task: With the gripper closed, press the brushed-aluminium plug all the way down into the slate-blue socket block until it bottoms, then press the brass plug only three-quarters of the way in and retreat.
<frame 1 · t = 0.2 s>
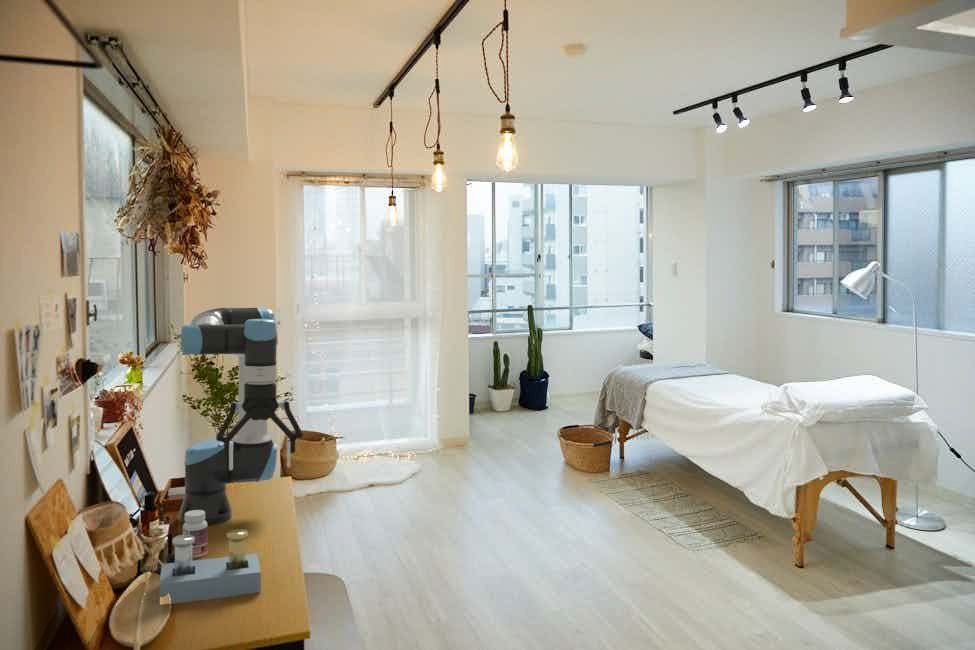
hand: (260, 467, 180), 28 cm above the table, fingers open, 13 cm apart
aluminium plug: (183, 555, 172), point 9 cm above the table, slide at 0.0 cm
brass plug: (237, 549, 176), point 9 cm above the table, slide at 0.0 cm
pill bottle: (195, 554, 195), on the table
socket block: (210, 588, 175), on the table
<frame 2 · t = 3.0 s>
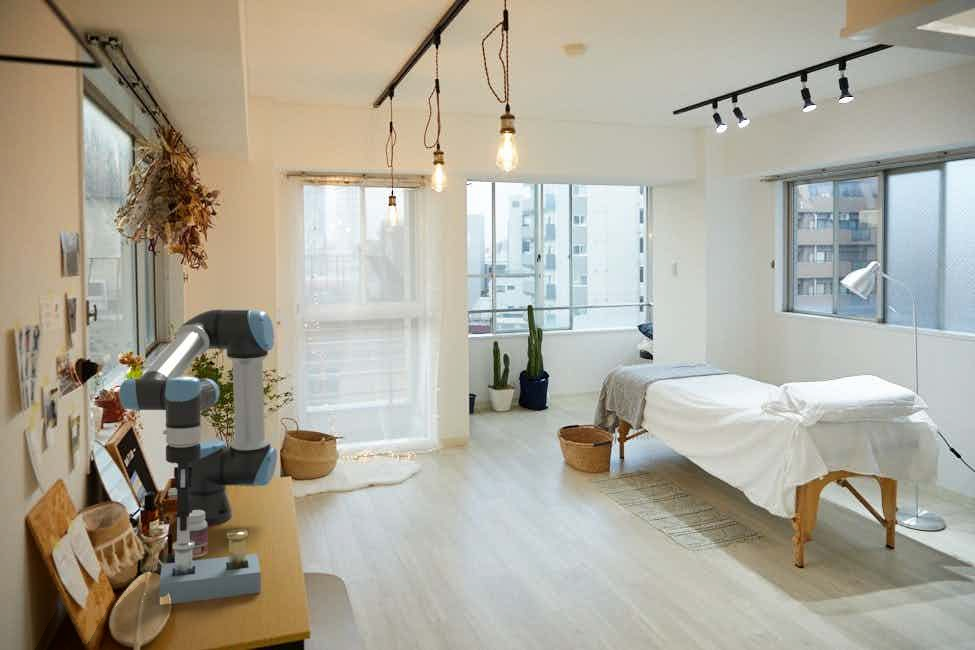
hand: (183, 542, 172), 12 cm above the table, fingers closed
aluminium plug: (183, 560, 172), point 8 cm above the table, slide at 1.3 cm, touching gripper
everything else where it was.
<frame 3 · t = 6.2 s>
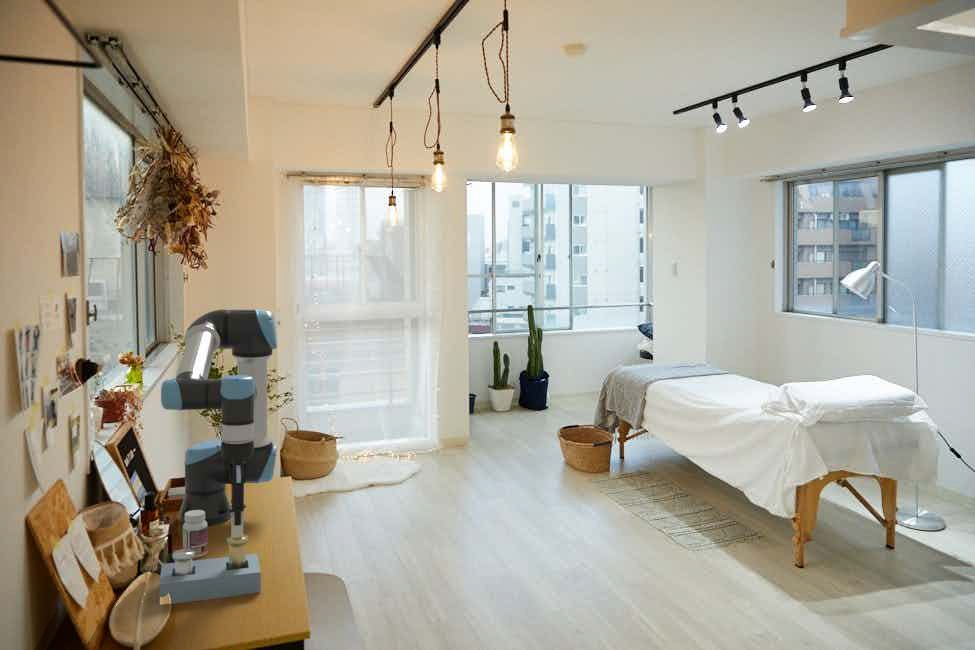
hand: (237, 536, 176), 12 cm above the table, fingers closed
aluminium plug: (183, 570, 172), point 5 cm above the table, slide at 3.5 cm
brass plug: (237, 554, 176), point 8 cm above the table, slide at 1.2 cm, touching gripper
everything else where it was.
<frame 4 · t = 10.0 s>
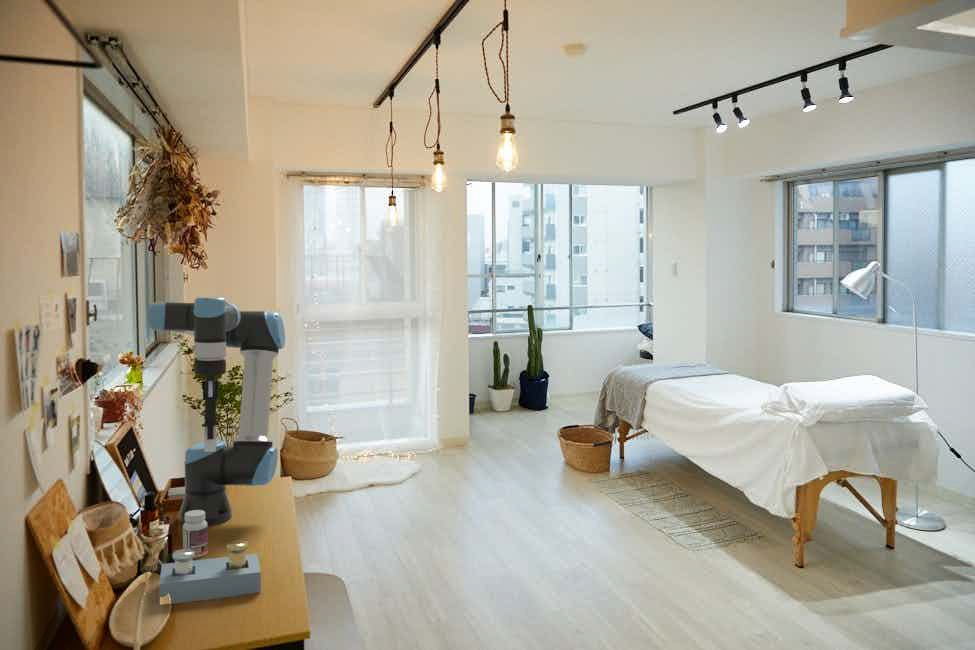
hand: (210, 450, 185), 30 cm above the table, fingers closed
brass plug: (237, 561, 177), point 6 cm above the table, slide at 2.8 cm
everything else where it was.
at the end: aluminium plug slide at 3.5 cm; brass plug slide at 2.8 cm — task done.
